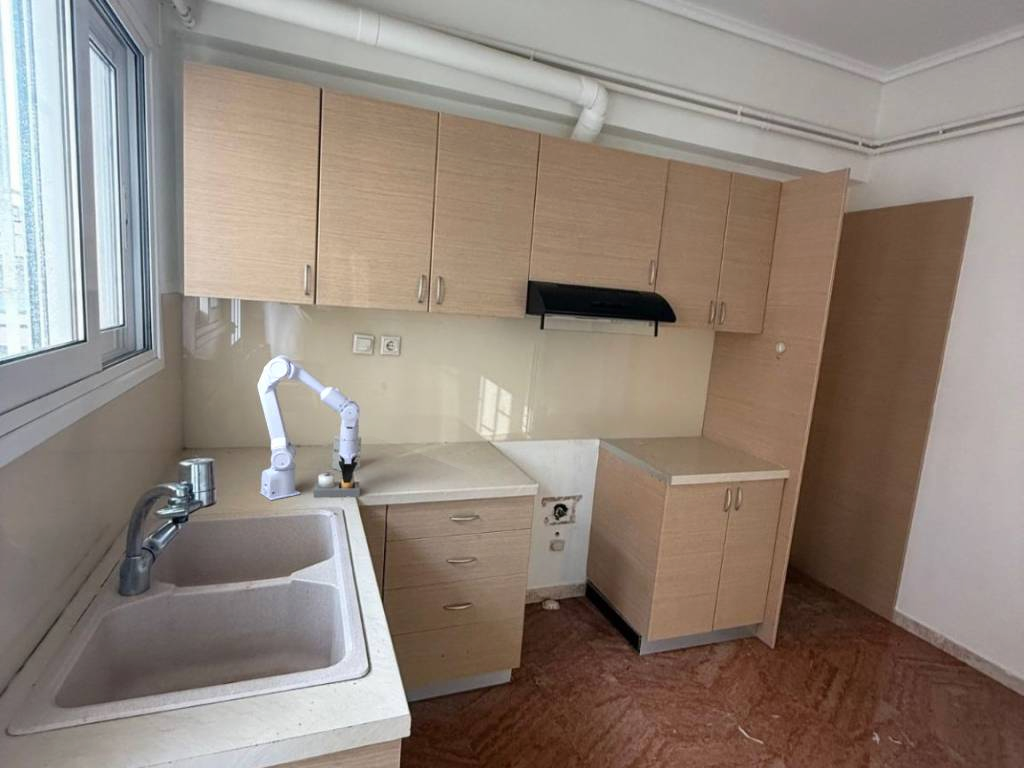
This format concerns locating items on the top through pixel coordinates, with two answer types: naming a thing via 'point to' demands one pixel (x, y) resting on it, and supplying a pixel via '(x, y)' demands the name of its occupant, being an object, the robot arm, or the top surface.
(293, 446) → the robot arm
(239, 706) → the top surface
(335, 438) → the supplement box
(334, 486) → the tray
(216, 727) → the top surface
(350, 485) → the small orange jar
